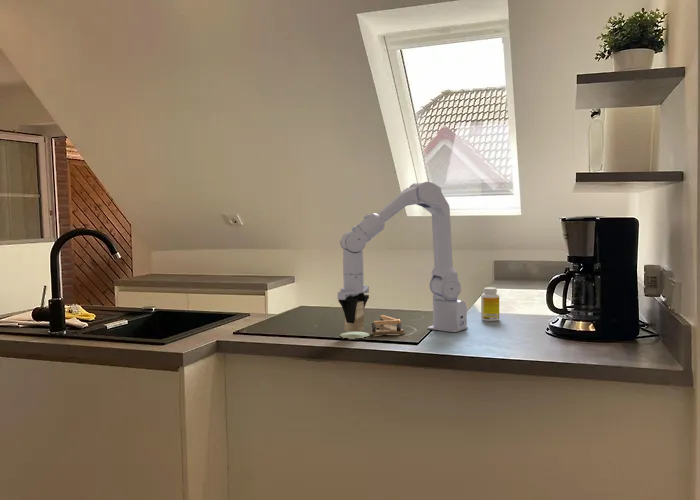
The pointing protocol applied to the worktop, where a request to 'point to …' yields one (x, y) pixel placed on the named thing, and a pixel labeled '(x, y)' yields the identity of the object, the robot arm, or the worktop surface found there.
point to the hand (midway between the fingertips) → (354, 321)
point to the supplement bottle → (490, 304)
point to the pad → (354, 335)
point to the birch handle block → (357, 319)
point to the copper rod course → (386, 326)
